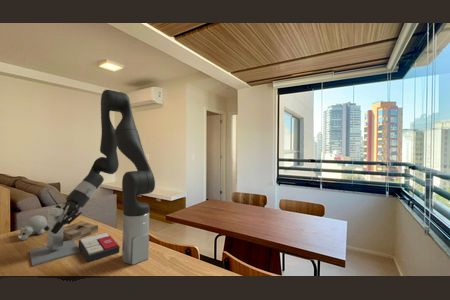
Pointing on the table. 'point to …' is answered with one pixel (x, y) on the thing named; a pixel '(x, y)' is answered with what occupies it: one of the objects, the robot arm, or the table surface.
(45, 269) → the table surface
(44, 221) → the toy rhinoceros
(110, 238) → the calculator
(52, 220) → the t key
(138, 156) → the robot arm
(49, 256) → the mat
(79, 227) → the block
